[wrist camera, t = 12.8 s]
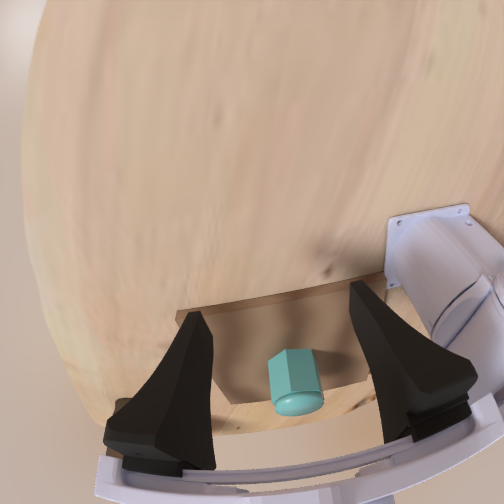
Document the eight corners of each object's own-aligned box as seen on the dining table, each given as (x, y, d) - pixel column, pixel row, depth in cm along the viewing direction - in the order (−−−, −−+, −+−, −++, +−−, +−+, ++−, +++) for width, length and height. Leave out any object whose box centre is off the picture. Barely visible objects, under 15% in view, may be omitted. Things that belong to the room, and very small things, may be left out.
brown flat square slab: (382, 271, 24) (387, 279, 23) (364, 373, 36) (366, 380, 35) (176, 310, 26) (175, 320, 25) (231, 397, 38) (231, 404, 37)
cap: (307, 342, 28) (317, 391, 23) (318, 366, 31) (327, 409, 26) (263, 355, 29) (267, 404, 24) (279, 377, 32) (284, 420, 27)
